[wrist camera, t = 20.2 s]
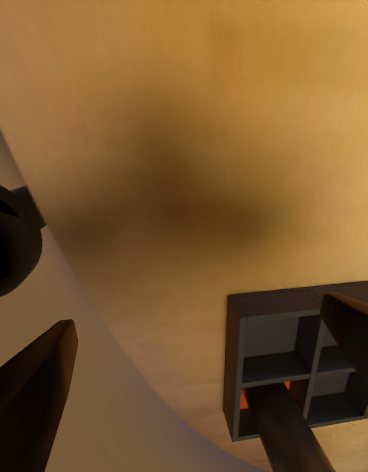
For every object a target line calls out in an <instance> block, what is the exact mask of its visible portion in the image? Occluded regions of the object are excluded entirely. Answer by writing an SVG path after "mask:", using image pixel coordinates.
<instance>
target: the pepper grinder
mask: <svg viewBox="0 0 368 472" xmlns="http://www.w3.org/2000/svg"><path fill="white" fill-rule="evenodd" d="M242 392H243V395H244V398H245V400H246V403H247V405H248V408H249V411H250V413H251V416H252V418H253V421H254V424H255V426H256V429H257V431H258V434H259V436H260V439H261V442H262V444H263V447H264V449H265V452H266V455H267V457H268V460H269V462H270V465H271V468H272V470H273V472H335V470H334V468H333V466H332V465H331V463H330V461H329V459H328V458H327V456H326V454H325V453H324V451H323V449H322V447H321V446H320V444H319V442H318V440H317V439H316V437H315V435H314V433H313V432H312V430H311V428H310V427H309V425H308V423H307V421H306V420H305V418H304V416H303V414H302V413H301V411H300V409H299V408H298V406H297V404H296V402H295V401H294V399H293V397H292V395H291V394H290V392H289V390H288V388H287V387H286V385H285V383H284V382H281V383H274V384H267V385H260V386H254V387H247V388H242Z"/></svg>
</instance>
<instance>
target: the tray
mask: <svg viewBox="0 0 368 472" xmlns="http://www.w3.org/2000/svg"><path fill="white" fill-rule="evenodd" d="M332 292H336V293H339V294H342V295H345V296H348V297H350V298H353V299H356V300H359V301H362V302H364V303H367V304H368V281H364V282H354V283H344V284H334V285H324V286H314V287H304V288H295V289H285V290H275V291H265V292H255V293H245V294H235V295H228V302H227V327H226V352H225V377H224V402H223V411H224V415H225V418H226V422H227V425H228V429H229V432H230V436H231V439H232V442H235V441H241V440H247V439H253V438H259V437H260V436H259V434H258V431H257V429H256V426H255V424H254V421H253V418H252V416H251V413H250V411H249V408H248V405H247V403H246V400H245V398H244V395H243V392H242V388H247V387H254V386H260V385H267V384H274V383H281V382H284V383H285V385H286V387H287V388H288V390H289V392H290V394H291V395H292V397H293V399H294V401H295V402H296V404H297V406H298V408H299V409H300V411H301V413H302V414H303V416H304V418H305V420H306V421H307V423H308V425H309V427H310V428H316V427H322V426H327V425H333V424H339V423H345V422H350V421H356V420H362V419H367V418H368V387H367V385H366V384H365V383H364V381H363V380H362V379H361V377H360V376H359V375H358V373H357V372H356V371H355V369H354V368H353V367H352V365H351V364H350V363H349V361H348V360H347V358H346V357H345V356H344V354H343V353H342V351H341V350H340V348H339V346H338V345H337V343H336V341H335V340H334V338H333V337H332V335H331V333H330V332H329V330H328V329H327V327H326V325H325V324H324V322H323V321H322V319H321V316H320V307H321V302H322V297H323V295H324V294H325V293H332Z"/></svg>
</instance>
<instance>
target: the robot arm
mask: <svg viewBox="0 0 368 472" xmlns="http://www.w3.org/2000/svg"><path fill="white" fill-rule="evenodd" d="M1 271H2V272H4V273H5V274H2V273H1ZM9 275H10V269H9V266H8V263H7V254H6V250H5V247H4V243H3V240H2V237H1V233H0V279H5V278H7V277H8V276H9ZM320 316H321V319H322V321H323V322H324V324H325V325H326V327H327V329H328V330H329V332H330V333H331V335H332V337H333V338H334V340H335V341H336V343H337V345H338V346H339V348H340V350H341V351H342V353H343V354H344V356H345V357H346V358H347V360H348V361H349V363H350V364H351V365H352V367H353V368H354V369H355V371H356V372H357V373H358V375H359V376H360V377H361V379H362V380H363V381H364V383H365V384H366V385H367V387H368V304H367V303H364V302H362V301H359V300H356V299H353V298H350V297H348V296H345V295H342V294H339V293H336V292H332V293H325V294H324V295H323V297H322V302H321V307H320ZM77 347H78V338H77V333H76V328H75V323H74V321H73V320H72V319H70V320H61V321H59V322H57V323H56V324H55V325H53V326H52V327H51V328H50V329H48V330H47V331H46V332H44V333H43V334H42V335H41V336H39V337H38V338H37V339H36V340H34V341H33V342H32V343H30V344H29V345H28V346H27V347H25V348H24V349H23V350H22V351H20V352H19V353H18V354H17V355H15V356H14V357H13V358H11V359H10V360H9V361H8V362H6V363H5V364H4V365H3V366H1V367H0V472H45V468H46V465H47V462H48V459H49V455H50V452H51V448H52V445H53V442H54V439H55V436H56V433H57V429H58V426H59V423H60V420H61V416H62V413H63V410H64V407H65V403H66V400H67V396H68V393H69V388H70V384H71V378H72V373H73V368H74V363H75V358H76V352H77Z"/></svg>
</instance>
